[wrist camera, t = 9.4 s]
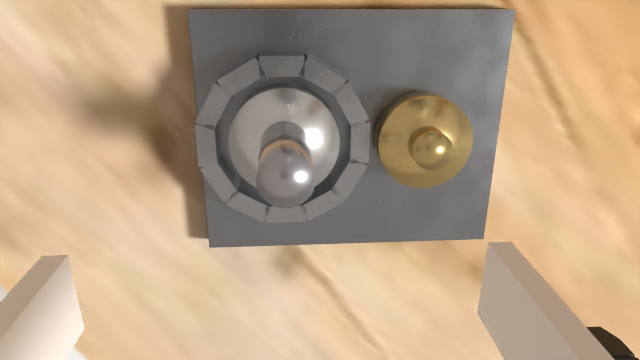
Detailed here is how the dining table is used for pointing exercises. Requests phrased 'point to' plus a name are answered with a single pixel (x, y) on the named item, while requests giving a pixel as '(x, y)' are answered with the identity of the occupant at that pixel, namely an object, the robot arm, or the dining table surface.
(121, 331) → the dining table surface
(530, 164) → the dining table surface
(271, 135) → the silver round-based piece
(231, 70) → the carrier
